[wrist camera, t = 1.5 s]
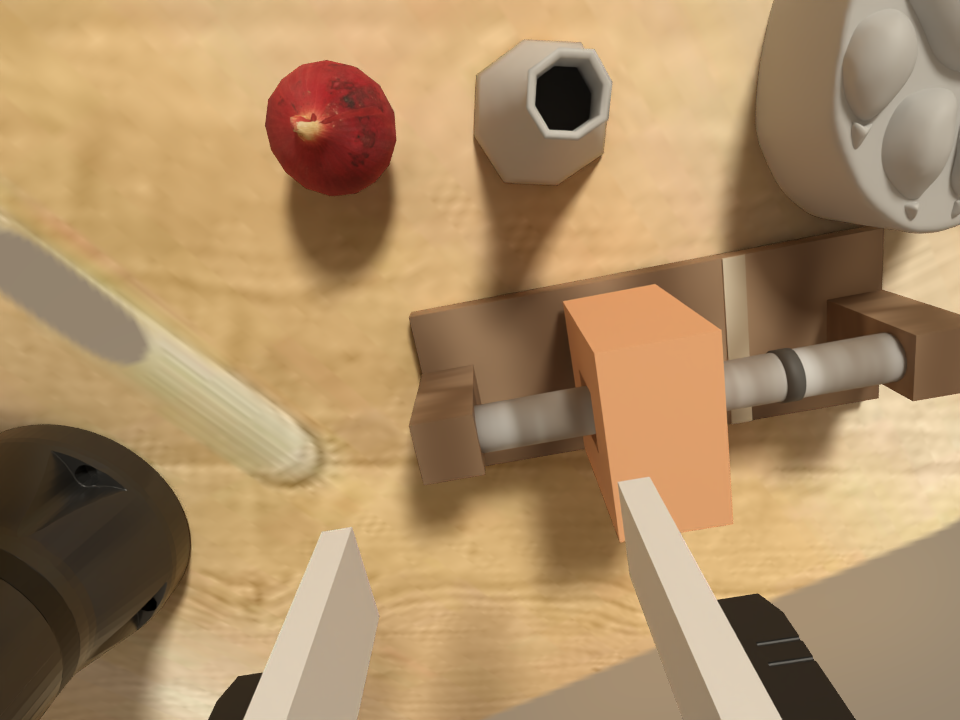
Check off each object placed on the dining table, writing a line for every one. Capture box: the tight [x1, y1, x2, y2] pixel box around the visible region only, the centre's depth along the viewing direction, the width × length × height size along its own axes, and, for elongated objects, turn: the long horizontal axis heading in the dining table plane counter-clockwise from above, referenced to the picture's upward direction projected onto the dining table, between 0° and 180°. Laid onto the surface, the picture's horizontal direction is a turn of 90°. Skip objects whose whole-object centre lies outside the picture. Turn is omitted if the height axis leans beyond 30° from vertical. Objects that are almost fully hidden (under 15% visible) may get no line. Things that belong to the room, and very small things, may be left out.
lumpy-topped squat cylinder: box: [755, 0, 960, 233], centre depth 26 cm, size 10×13×9 cm
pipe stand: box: [409, 226, 960, 485], centre depth 31 cm, size 26×10×8 cm, turn 101°
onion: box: [265, 60, 396, 196], centre depth 27 cm, size 6×6×8 cm
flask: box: [474, 39, 612, 185], centre depth 26 cm, size 7×7×10 cm
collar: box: [563, 284, 733, 542], centre depth 29 cm, size 5×9×9 cm, turn 11°
